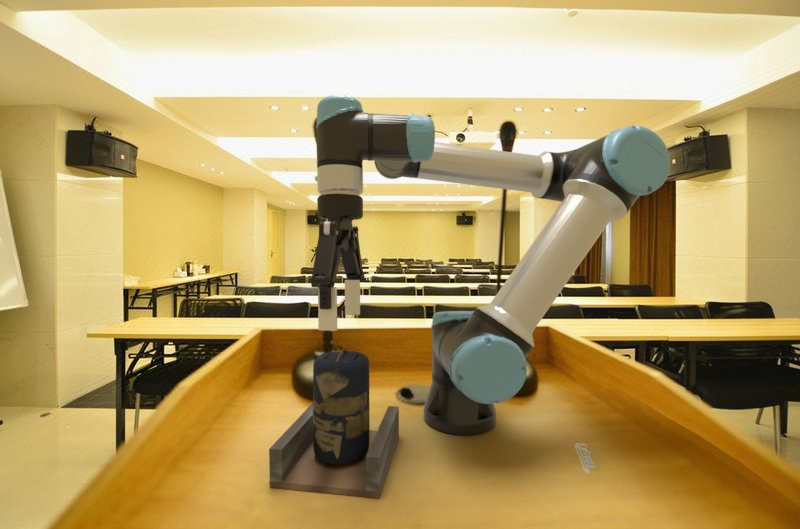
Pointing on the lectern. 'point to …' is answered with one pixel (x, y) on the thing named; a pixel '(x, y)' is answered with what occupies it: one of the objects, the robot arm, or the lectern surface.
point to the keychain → (584, 457)
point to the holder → (306, 472)
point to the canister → (341, 407)
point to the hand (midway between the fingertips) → (341, 321)
